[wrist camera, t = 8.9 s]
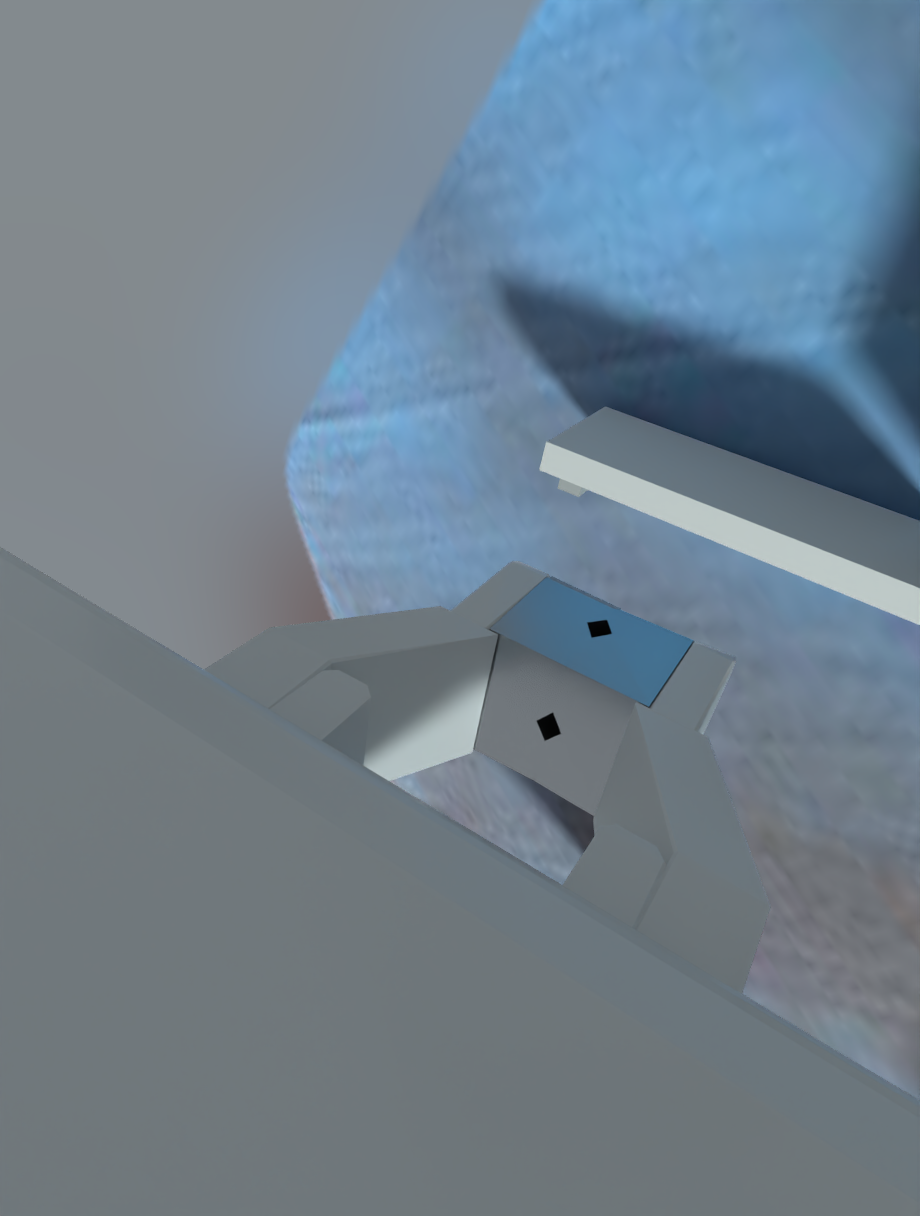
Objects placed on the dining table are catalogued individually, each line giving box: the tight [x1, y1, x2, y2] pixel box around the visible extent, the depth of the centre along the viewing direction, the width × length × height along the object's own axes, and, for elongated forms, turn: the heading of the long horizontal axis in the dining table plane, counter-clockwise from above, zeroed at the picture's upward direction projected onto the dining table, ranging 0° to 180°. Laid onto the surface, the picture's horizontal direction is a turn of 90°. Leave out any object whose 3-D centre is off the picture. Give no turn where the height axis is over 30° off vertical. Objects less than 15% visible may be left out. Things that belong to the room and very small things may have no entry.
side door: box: [540, 407, 920, 625], centre depth 26 cm, size 12×2×5 cm, turn 79°
